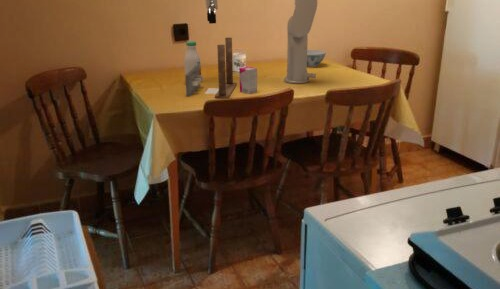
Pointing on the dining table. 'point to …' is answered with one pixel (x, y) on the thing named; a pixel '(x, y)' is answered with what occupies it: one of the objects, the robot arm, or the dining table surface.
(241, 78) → the supplement box
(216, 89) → the pad
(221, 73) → the gate
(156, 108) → the dining table surface
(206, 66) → the dining table surface
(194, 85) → the panel
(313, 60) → the chinaware
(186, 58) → the milk bottle
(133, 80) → the dining table surface
